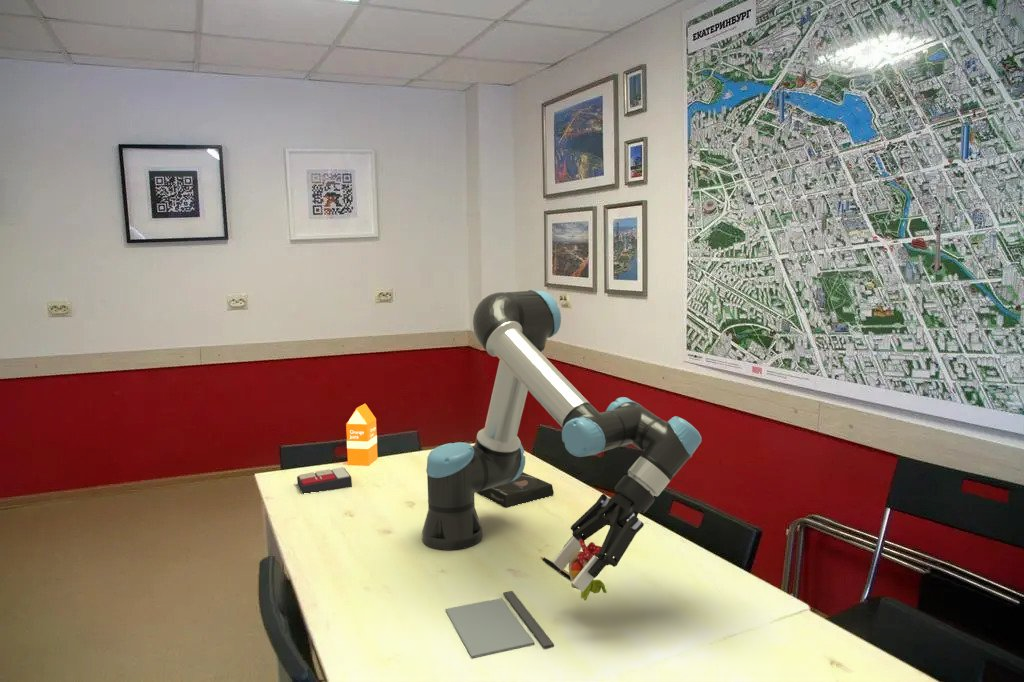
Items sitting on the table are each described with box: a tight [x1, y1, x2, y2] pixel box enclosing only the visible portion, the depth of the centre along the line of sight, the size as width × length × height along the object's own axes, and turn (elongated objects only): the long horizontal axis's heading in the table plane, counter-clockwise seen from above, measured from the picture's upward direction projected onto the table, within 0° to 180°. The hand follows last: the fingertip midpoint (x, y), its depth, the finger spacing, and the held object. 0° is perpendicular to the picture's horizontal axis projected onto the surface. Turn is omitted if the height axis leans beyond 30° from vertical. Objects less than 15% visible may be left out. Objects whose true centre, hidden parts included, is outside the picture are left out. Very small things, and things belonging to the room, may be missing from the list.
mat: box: [445, 590, 555, 659], centre depth 135 cm, size 22×15×1 cm
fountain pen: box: [540, 556, 571, 581], centre depth 158 cm, size 14×1×2 cm, turn 29°
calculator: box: [296, 467, 353, 495], centre depth 220 cm, size 11×4×15 cm
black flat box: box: [475, 471, 555, 509], centre depth 209 cm, size 16×17×4 cm
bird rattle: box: [568, 539, 607, 601], centre depth 135 cm, size 6×11×9 cm
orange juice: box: [345, 403, 378, 467], centre depth 244 cm, size 8×9×20 cm
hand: (566, 576), depth 134 cm, fingers closed on bird rattle, 8 cm apart
